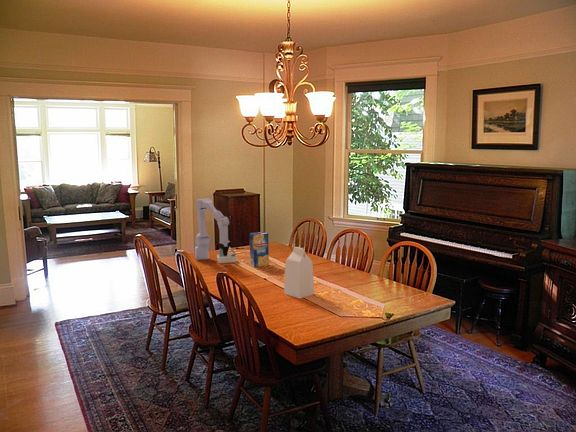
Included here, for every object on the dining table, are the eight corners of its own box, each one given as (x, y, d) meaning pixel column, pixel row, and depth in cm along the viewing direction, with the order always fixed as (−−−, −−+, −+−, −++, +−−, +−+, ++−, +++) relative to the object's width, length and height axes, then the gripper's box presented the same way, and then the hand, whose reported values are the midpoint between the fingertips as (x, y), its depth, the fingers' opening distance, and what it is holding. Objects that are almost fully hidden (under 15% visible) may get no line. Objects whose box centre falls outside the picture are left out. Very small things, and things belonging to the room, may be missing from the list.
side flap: (230, 249, 333) (231, 248, 334) (228, 247, 341) (229, 246, 341) (235, 255, 335) (236, 254, 335) (233, 252, 343) (234, 251, 343)
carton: (219, 263, 332) (218, 257, 332) (217, 260, 341) (216, 254, 340) (236, 261, 336) (236, 256, 335) (233, 259, 344) (233, 253, 344)
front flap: (219, 248, 329) (219, 249, 328) (227, 248, 331) (227, 248, 330) (219, 256, 332) (219, 256, 331) (227, 255, 333) (227, 256, 332)
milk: (284, 293, 264) (283, 247, 260) (298, 289, 272) (298, 244, 268) (299, 298, 256) (299, 251, 252) (314, 293, 264) (314, 247, 260)
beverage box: (268, 265, 326) (268, 233, 323) (254, 267, 321) (253, 235, 318) (264, 262, 332) (263, 231, 329) (250, 264, 327) (249, 233, 324)
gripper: (231, 236, 319) (232, 256, 322) (227, 232, 333) (228, 251, 335) (221, 237, 317) (221, 257, 320) (217, 233, 331) (218, 252, 333)
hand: (224, 254), depth 327 cm, fingers open, 7 cm apart
